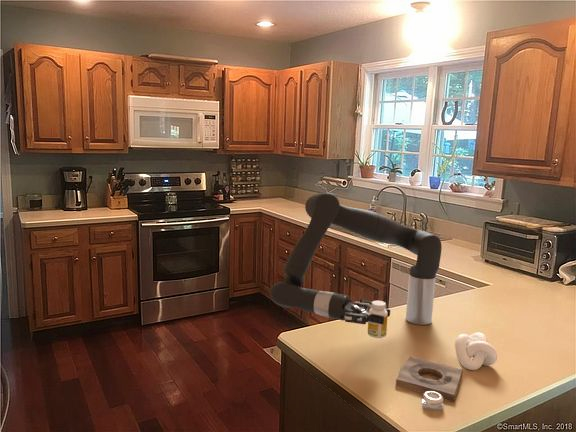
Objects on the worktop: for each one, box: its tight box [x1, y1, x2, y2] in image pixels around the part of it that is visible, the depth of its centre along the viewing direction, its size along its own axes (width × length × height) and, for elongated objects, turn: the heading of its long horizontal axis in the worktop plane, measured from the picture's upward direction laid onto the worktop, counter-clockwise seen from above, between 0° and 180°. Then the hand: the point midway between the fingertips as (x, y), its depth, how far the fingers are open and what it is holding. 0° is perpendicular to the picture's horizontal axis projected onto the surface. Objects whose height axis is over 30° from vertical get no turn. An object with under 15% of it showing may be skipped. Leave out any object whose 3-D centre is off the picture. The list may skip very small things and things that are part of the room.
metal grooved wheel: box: [421, 391, 445, 413], centre depth 115 cm, size 5×3×5 cm
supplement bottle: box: [367, 300, 389, 339], centre depth 132 cm, size 5×5×10 cm
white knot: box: [454, 331, 498, 371], centre depth 136 cm, size 11×12×9 cm
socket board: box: [395, 355, 463, 403], centre depth 127 cm, size 15×15×2 cm
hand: (386, 316), depth 130 cm, fingers closed on supplement bottle, 5 cm apart
